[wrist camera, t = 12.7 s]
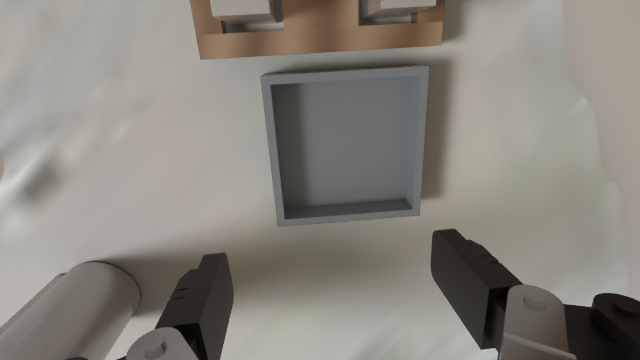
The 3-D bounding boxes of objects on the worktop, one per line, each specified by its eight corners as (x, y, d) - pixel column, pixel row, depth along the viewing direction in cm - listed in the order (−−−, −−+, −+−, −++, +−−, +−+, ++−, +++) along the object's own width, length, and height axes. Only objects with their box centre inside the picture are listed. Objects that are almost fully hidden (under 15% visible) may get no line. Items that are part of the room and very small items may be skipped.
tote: (279, 212, 38) (277, 226, 35) (264, 74, 33) (260, 76, 29) (409, 201, 39) (419, 215, 36) (416, 64, 33) (429, 65, 30)
